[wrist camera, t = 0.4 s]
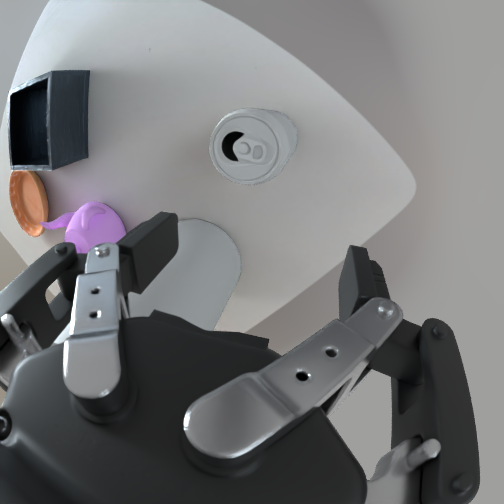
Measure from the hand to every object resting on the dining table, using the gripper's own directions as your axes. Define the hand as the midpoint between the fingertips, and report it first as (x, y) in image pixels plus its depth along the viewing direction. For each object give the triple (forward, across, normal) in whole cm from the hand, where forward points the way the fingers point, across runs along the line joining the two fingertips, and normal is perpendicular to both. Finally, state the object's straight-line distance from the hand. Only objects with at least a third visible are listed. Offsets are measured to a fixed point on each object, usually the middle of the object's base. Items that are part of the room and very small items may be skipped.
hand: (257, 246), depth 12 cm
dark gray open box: (+22, +39, -6) cm, 45 cm away
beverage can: (+22, +3, -2) cm, 22 cm away
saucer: (+21, +52, +10) cm, 57 cm away
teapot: (+21, +30, +14) cm, 39 cm away
